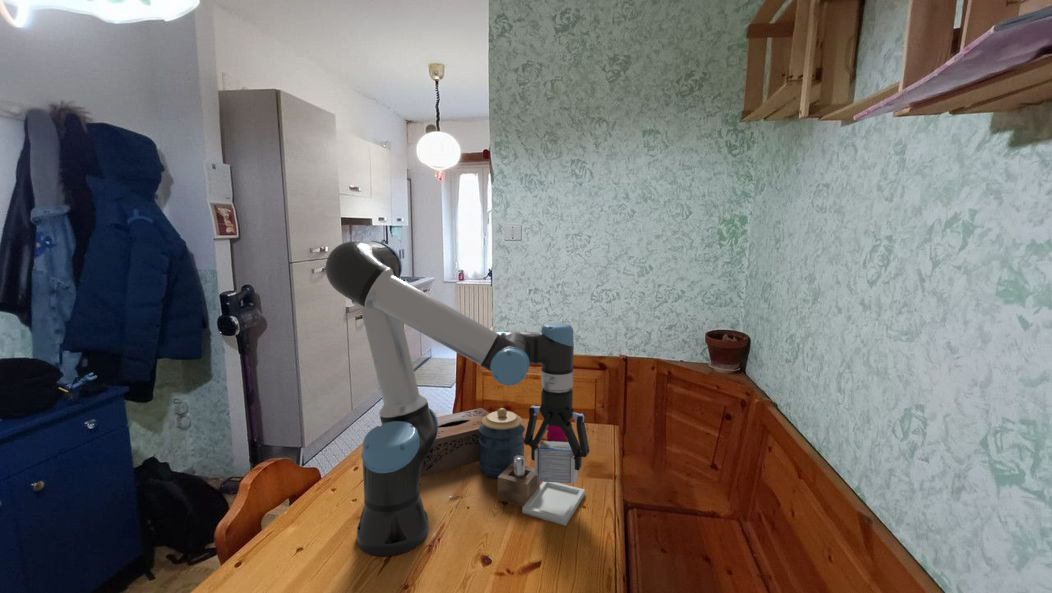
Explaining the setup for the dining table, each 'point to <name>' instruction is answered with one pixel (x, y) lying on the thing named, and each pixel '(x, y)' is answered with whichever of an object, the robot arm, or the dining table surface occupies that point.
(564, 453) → the medicine box
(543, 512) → the tray
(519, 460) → the pin
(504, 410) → the canister
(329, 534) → the dining table surface
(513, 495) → the square hollow frame
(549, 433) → the pepper mill
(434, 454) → the tissue box cover
